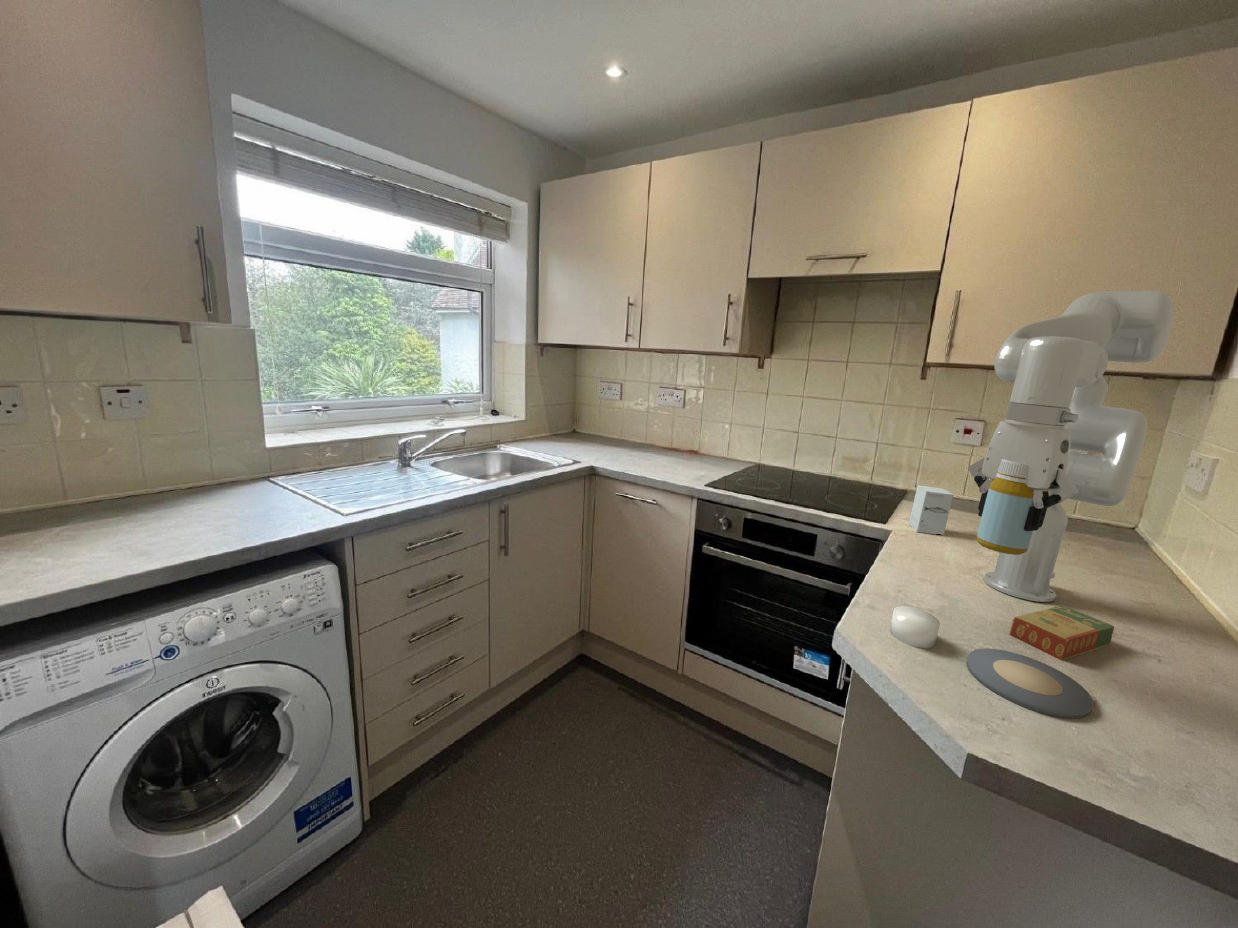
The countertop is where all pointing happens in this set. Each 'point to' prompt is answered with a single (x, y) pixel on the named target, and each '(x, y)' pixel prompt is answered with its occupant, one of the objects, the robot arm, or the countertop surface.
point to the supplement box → (930, 510)
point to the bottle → (1007, 511)
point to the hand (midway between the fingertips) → (1007, 521)
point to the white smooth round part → (914, 627)
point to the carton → (1061, 631)
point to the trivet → (1029, 683)
